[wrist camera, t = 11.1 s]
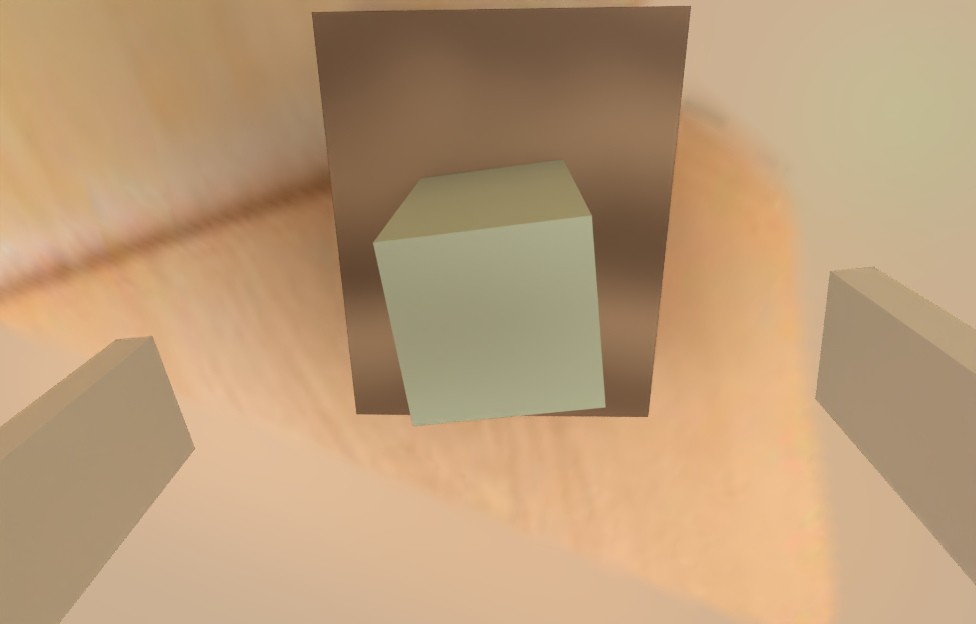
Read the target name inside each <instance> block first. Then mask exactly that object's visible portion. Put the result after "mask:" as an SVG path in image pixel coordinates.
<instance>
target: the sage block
mask: <svg viewBox="0 0 976 624" xmlns="http://www.w3.org/2000/svg"><path fill="white" fill-rule="evenodd" d="M373 245H374V250H375V254H376V259H377V263H378V268H379V273H380V277H381V282H382V286H383V291H384V296H385V300H386V305H387V309H388V314H389V319H390V323H391V328H392V333H393V337H394V342H395V346H396V351H397V356H398V360H399V365H400V369H401V374H402V379H403V383H404V388H405V392H406V397H407V402H408V406H409V411H410V415H411V420H412V425H413V426H421V425H431V424H441V423H451V422H461V421H472V420H482V419H492V418H502V417H513V416H523V415H533V414H543V413H553V412H564V411H574V410H584V409H594V408H605V407H606V406H605V392H604V378H603V364H602V350H601V336H600V323H599V309H598V295H597V281H596V267H595V253H594V239H593V226H592V215H591V213H590V211H589V209H588V207H587V205H586V203H585V201H584V199H583V197H582V195H581V193H580V191H579V189H578V187H577V185H576V184H575V182H574V180H573V178H572V176H571V174H570V172H569V170H568V168H567V166H566V164H565V162H564V160H563V159H562V160H554V161H547V162H539V163H532V164H524V165H517V166H509V167H502V168H494V169H487V170H479V171H472V172H464V173H457V174H449V175H441V176H434V177H426V178H421V179H420V180H419V181H418V183H417V184H416V185H415V187H414V188H413V189H412V191H411V192H410V193H409V195H408V196H407V198H406V199H405V200H404V202H403V203H402V204H401V206H400V207H399V208H398V210H397V211H396V212H395V214H394V215H393V216H392V218H391V219H390V220H389V222H388V223H387V225H386V226H385V227H384V229H383V230H382V231H381V233H380V234H379V235H378V237H377V238H376V239H375V241H374V242H373Z"/></svg>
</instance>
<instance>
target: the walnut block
mask: <svg viewBox="0 0 976 624" xmlns="http://www.w3.org/2000/svg"><path fill="white" fill-rule="evenodd" d="M690 10H691V6H661V7H600V8H539V9H478V10H417V11H356V12H312V19H313V28H314V37H315V46H316V55H317V64H318V73H319V81H320V90H321V99H322V108H323V117H324V126H325V135H326V144H327V153H328V162H329V171H330V180H331V189H332V198H333V207H334V216H335V225H336V234H337V243H338V252H339V261H340V270H341V279H342V288H343V297H344V306H345V315H346V324H347V333H348V342H349V351H350V360H351V369H352V378H353V387H354V396H355V405H356V414H387V415H410V411H409V406H408V402H407V397H406V392H405V388H404V383H403V379H402V374H401V369H400V365H399V360H398V356H397V351H396V346H395V342H394V337H393V333H392V328H391V323H390V319H389V314H388V309H387V305H386V300H385V296H384V291H383V286H382V282H381V277H380V273H379V268H378V263H377V259H376V254H375V250H374V245H373V242H374V241H375V239H376V238H377V237H378V235H379V234H380V233H381V231H382V230H383V229H384V227H385V226H386V225H387V223H388V222H389V220H390V219H391V218H392V216H393V215H394V214H395V212H396V211H397V210H398V208H399V207H400V206H401V204H402V203H403V202H404V200H405V199H406V198H407V196H408V195H409V193H410V192H411V191H412V189H413V188H414V187H415V185H416V184H417V183H418V181H419V180H420V179H421V178H426V177H434V176H441V175H449V174H457V173H464V172H472V171H479V170H487V169H494V168H502V167H509V166H517V165H524V164H532V163H539V162H547V161H554V160H562V159H563V160H564V162H565V164H566V166H567V168H568V170H569V172H570V174H571V176H572V178H573V180H574V182H575V184H576V185H577V187H578V189H579V191H580V193H581V195H582V197H583V199H584V201H585V203H586V205H587V207H588V209H589V211H590V213H591V215H592V226H593V239H594V253H595V267H596V281H597V295H598V309H599V323H600V336H601V350H602V364H603V378H604V392H605V406H606V407H605V408H594V409H584V410H574V411H564V412H553V413H543V414H533V415H523V416H607V417H648V413H649V403H650V394H651V384H652V374H653V365H654V355H655V346H656V336H657V327H658V317H659V307H660V298H661V288H662V279H663V269H664V260H665V250H666V240H667V231H668V221H669V212H670V202H671V192H672V183H673V173H674V164H675V154H676V145H677V135H678V125H679V116H680V106H681V97H682V87H683V77H684V68H685V58H686V49H687V38H688V30H689V20H690Z"/></svg>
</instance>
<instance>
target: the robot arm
mask: <svg viewBox="0 0 976 624" xmlns="http://www.w3.org/2000/svg"><path fill="white" fill-rule="evenodd" d="M816 400H817V401H818V402H819V403H820V405H821V406H822V407H823V408H824V409H825V410H826V412H827V413H828V414H829V415H830V416H831V417H832V419H833V420H834V421H835V422H836V423H837V424H838V426H839V427H840V428H841V429H842V430H843V431H844V433H845V434H846V435H847V436H848V437H849V438H850V439H851V441H852V442H853V443H854V444H855V445H856V446H857V448H858V449H859V450H860V451H861V452H862V453H863V455H864V456H865V457H866V458H867V459H868V460H869V462H870V463H871V464H872V465H873V466H874V467H875V469H876V470H877V471H878V472H879V473H880V474H881V475H882V477H883V478H884V479H885V480H886V481H887V482H888V484H889V485H890V486H891V487H892V488H893V489H894V491H895V492H896V493H897V494H898V495H899V496H900V498H901V499H902V500H903V501H904V502H905V503H906V505H908V507H909V508H910V509H911V510H912V511H913V513H914V514H915V515H916V516H917V517H918V518H919V519H920V521H921V522H922V523H923V524H924V525H925V527H926V528H927V529H928V530H929V531H930V532H931V534H932V535H933V536H934V537H935V538H936V539H937V541H938V542H939V543H940V544H941V545H942V546H943V547H944V549H945V550H946V551H947V552H948V553H949V554H950V556H951V557H952V558H953V559H954V560H955V561H956V563H957V564H958V565H959V566H960V567H961V568H962V570H963V571H964V572H965V573H966V574H967V575H968V577H969V578H970V579H971V580H972V581H973V582H974V583H975V585H976V329H974V328H973V327H971V326H969V325H968V324H966V323H964V322H963V321H961V320H960V319H958V318H956V317H955V316H953V315H951V314H950V313H948V312H946V311H945V310H943V309H942V308H940V307H938V306H937V305H935V304H933V303H932V302H930V301H929V300H927V299H925V298H924V297H922V296H920V295H919V294H917V293H915V292H914V291H912V290H911V289H909V288H907V287H906V286H904V285H902V284H901V283H899V282H897V281H896V280H894V279H893V278H891V277H889V276H888V275H886V274H885V273H883V272H881V271H879V270H878V269H876V268H875V267H867V268H856V269H847V270H835V271H830V277H829V286H828V294H827V304H826V312H825V320H824V330H823V338H822V346H821V355H820V364H819V372H818V381H817V390H816ZM194 449H195V447H194V445H193V442H192V440H191V437H190V434H189V432H188V429H187V426H186V424H185V421H184V418H183V416H182V413H181V411H180V408H179V405H178V403H177V400H176V397H175V395H174V392H173V389H172V387H171V384H170V382H169V379H168V376H167V374H166V371H165V368H164V366H163V363H162V360H161V358H160V355H159V353H158V350H157V347H156V345H155V342H154V339H153V337H152V336H149V337H139V338H128V339H118V340H115V341H114V342H112V343H111V344H110V345H108V346H107V347H106V348H105V349H103V350H102V351H101V352H99V353H98V354H97V355H95V356H94V357H93V358H91V359H90V360H89V361H87V362H86V363H85V364H83V365H82V366H81V367H79V368H78V369H77V370H75V371H74V372H73V373H72V374H70V375H69V376H67V377H66V378H65V379H63V380H62V381H61V382H59V383H58V384H57V385H55V386H54V387H53V388H51V389H50V390H49V391H47V392H46V393H45V394H43V395H42V396H41V397H39V398H38V399H37V400H35V401H34V402H33V403H31V404H30V405H29V406H27V407H26V408H25V409H24V410H22V411H21V412H19V413H18V414H17V415H15V416H14V417H13V418H11V419H10V420H9V421H8V422H6V423H5V424H3V425H2V426H1V427H0V624H59V623H60V622H61V620H62V619H63V618H64V617H65V615H66V614H67V613H68V612H69V610H70V609H71V608H72V606H73V605H74V604H75V602H76V601H77V600H78V599H79V597H80V596H81V595H82V593H83V592H84V591H85V590H86V588H87V587H88V586H89V585H90V583H91V582H92V581H93V579H94V578H95V577H96V575H97V574H98V573H99V572H100V570H101V569H102V568H103V566H104V565H105V564H106V563H107V561H108V560H109V559H110V557H111V556H112V555H113V554H114V552H115V551H116V550H117V549H118V547H119V546H120V545H121V543H122V542H123V541H124V539H125V538H126V537H127V536H128V534H129V533H130V532H131V530H132V529H133V528H134V527H135V525H136V524H137V523H138V521H139V520H140V519H141V518H142V516H143V515H144V514H145V512H146V511H147V510H148V509H149V507H150V506H151V505H152V503H153V502H154V501H155V499H156V498H157V497H158V496H159V494H160V493H161V492H162V491H163V489H164V488H165V487H166V485H167V484H168V483H169V482H170V480H171V479H172V478H173V476H174V475H175V474H176V473H177V471H178V470H179V469H180V467H181V466H182V465H183V463H184V462H185V461H186V460H187V458H188V457H189V456H190V454H191V453H192V452H193V451H194Z"/></svg>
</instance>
